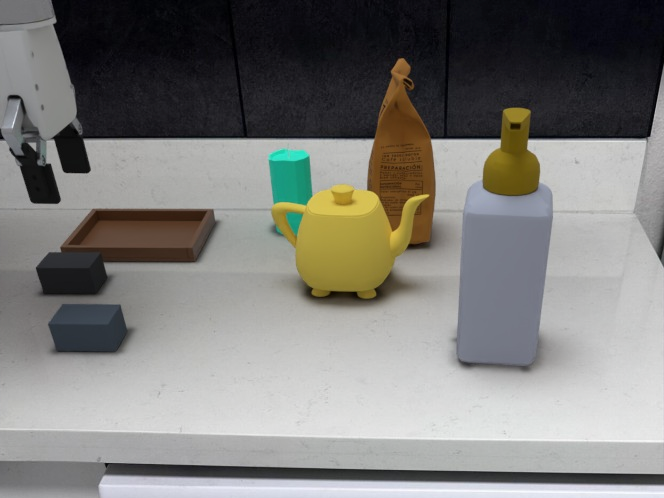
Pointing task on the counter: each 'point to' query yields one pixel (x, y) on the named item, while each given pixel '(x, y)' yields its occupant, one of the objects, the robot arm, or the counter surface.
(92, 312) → the blue gray block
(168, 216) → the brown shallow rectangular tray
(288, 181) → the candle
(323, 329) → the counter surface
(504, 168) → the soap bottle
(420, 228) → the coffee package
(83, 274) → the black rectangular block
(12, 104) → the robot arm
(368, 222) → the teapot
